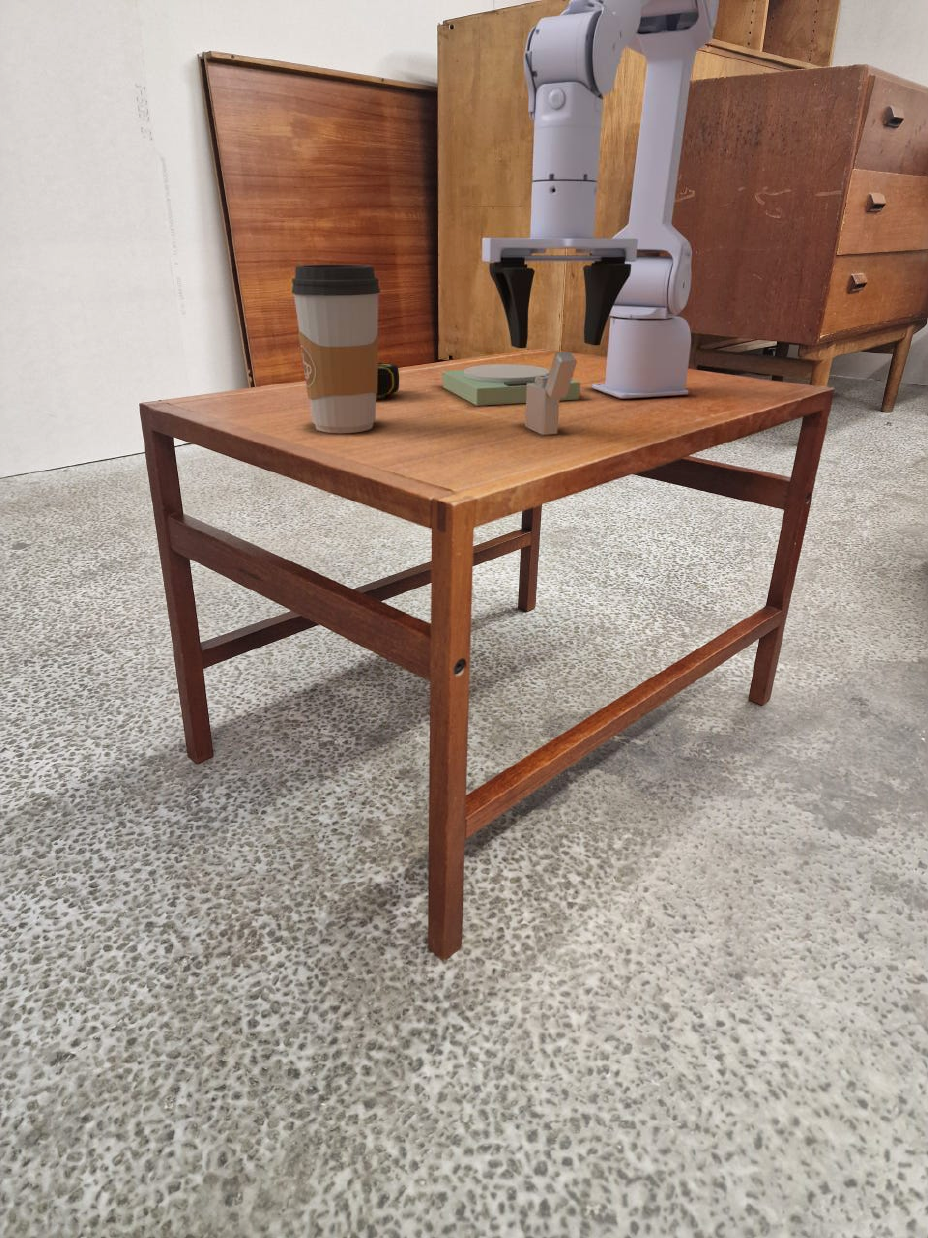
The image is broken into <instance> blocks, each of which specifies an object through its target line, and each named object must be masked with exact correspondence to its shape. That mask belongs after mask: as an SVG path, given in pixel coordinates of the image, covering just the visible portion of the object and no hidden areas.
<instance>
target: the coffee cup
mask: <svg viewBox="0 0 928 1238" xmlns="http://www.w3.org/2000/svg"><path fill="white" fill-rule="evenodd" d="M294 267H295V268H294V269H295V270H294V278H291V283H292V287H291V294H293V297H294V298H293V299H294V304H295V311H296V317H297V325H298V339H299V346H300V351H301V359H302V367H303V372H304V380H305V385H306V394H307V398H308V401H309V408H310V409H309V410H310V416H311V421H312V423H313V424H314V425H315V429H316V430H317V431H318V432H323V433H328V434H352V433H353V434H354V433H355V434H356V433H361V432H365V431H370V430H371V429H373V428H374V423H375V422H376V419H377V399H376V395H377V371H378V363H379V330H378V327H379V326H378V323H379V321H378V320H379V319H378V318H379V294H380V293H381V290H380V286H379V282H380V280H379V278H378V277H376V274H375V268H374V267H375V266H374V265H369V264H368V265H365V264H364V265H363V264H306V265H305V264H304V265H295V266H294Z"/></svg>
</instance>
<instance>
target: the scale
mask: <svg viewBox="0 0 928 1238" xmlns="http://www.w3.org/2000/svg"><path fill="white" fill-rule="evenodd" d="M549 373H550V369H547V368H545V367H541V366H537V365H528V364H514V363H494V364H491V363H490V364H480V365H473V366H469V367H466V368H464V369H456V370H454V369H453V370H443V371H442V388H444V389H445V390H448V391H449V392H451V393H453V394H455V395H456V396H458V397H460V398H461V399H464V400H466V401H467V402H469V403H471V404H472V405H474V406H475V407H476V406H477V407H482V406H498V405H499V406H500V405H513V404H514V405H515V404H526V390H527V383H535V375H546V376H549ZM580 387H581V382H579V381H577V380H574V379H572V380H571V383H570V386H569V390H568V393H567V396H566V397H565V398H559V402H560V401H561V402H563V401H578V400H580V391H581V389H580Z"/></svg>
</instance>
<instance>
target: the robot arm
mask: <svg viewBox="0 0 928 1238" xmlns="http://www.w3.org/2000/svg"><path fill="white" fill-rule="evenodd" d="M719 3H720V0H569V2H568V6H567V7H566V8H565V9H564V10H563V11H562V12H561V13H560V14H559V15H554V16H546V17H542V18H540V20H539V21H538V23H537V25H535V26H533V27H532V28H531V29H530V31H529V33H528V35H527V38H526V44H525V52H523V72H524V77H525V78H524V79H525V84H526V87H527V94H528V109H527V111H528V113H529V120H530V121H532V122H533V148H532V150H533V151H532V173H531V174H532V175H531V200H530V201H531V202H530V223H529V225H530V227H529V228H530V229H529V237H482V242H481V243H482V244H481V245H482V246H481V247H482V248H481V258H482V259H481V261H482V262H483V263H485V262H486V263H489V264H488V267H489V268H488V270H489V274H490V277H491V279H492V281H493V283H494V285H495V288H496V290H497V293H498V295H499V298H500V300H501V304H502V307H503V309H504V313H505V317H506V322H507V328H508V331H509V338H510V339H509V340H510V347H514V348H517V349H527V345H528V337H529V308H530V300H531V299H530V298H531V293H532V292H531V291H532V287H533V281H534V276H535V273H536V271H535V270H534V268H533V267H528V264H527V263H528V262H532V263H533V262H537V263H538V262H539V263H540V262H591V264H586V265H584V266H583V267H582V271H583V279H584V292H585V313H584V323H583V324H584V325H583V342H584V344H587V345H591V346H601V343H602V339H603V335H604V332H605V329H606V325H607V323H608V321H609V332H608V344H607V345H608V346H607V357H606V369H605V382H604V383H593V384H591V389H594V390H596V391H599V392H602V393H604V394H607V395H610V396H613V397H615V398H618V399H622V400H623V399H641V398H653V397H654V398H655V397H671V396H672V397H673V396H686V395H689V393H690V390H688V389H686V388H687V379H688V372H689V363H690V355H691V348H692V334H691V327H690V325H689V323H688V321H687V320H686V319H685V318H684V317H681V316H677V315H679V314H680V313H682V311H683V310H684V308H685V307H686V306H687V303H688V300H689V296H690V293H691V287H692V257H693V250H692V246H691V243H690V242H689V240H688V239H687V238H686V237H685V236H684V235H683V234H681V233H680V232H679V231H678V230H677V228H675V227H674V226H673V224H672V222H673V221H672V220H673V214H674V205H675V199H676V191H677V185H678V175H679V169H680V161H681V154H682V146H683V139H684V130H685V123H686V117H687V109H688V101H689V92H690V86H691V78H692V74H693V69H694V64H695V60H696V55H697V52H698V51H699V50H700V49H701V48H703V47H704V46H705V45H707V44H708V43H709V42H710V41H712V40H713V35H714V28H715V27H716V23H717V17H718V11H719ZM627 47H628V48H629V49H631V50H632V51H634V52H636V53H638V54H640V55H642V56H644V58H645V61H646V71H645V79H644V89H643V97H642V98H643V99H642V107H641V114H640V124H639V133H638V139H637V140H638V141H637V148H636V157H635V158H636V159H635V166H634V174H633V184H632V193H631V199H630V209H629V218H628V223H627V224H626V225H625V227H623V228H622V229H621V230H620V231H618V233H616V234H614V236H612V237H611V238H604V237H603V238H601V237H600V238H595V224H596V211H597V210H596V209H597V197H598V183H599V181H598V180H599V169H600V168H599V167H600V155H601V153H600V152H601V140H602V139H601V138H602V124H603V110H604V96H606V95H608V94H609V93H611V92H612V90H613V88H614V85H615V82H616V77H617V74H618V73H617V72H618V68H619V65H620V63H621V60H622V53H623V52H624V50H625V49H626V48H627ZM551 249H552V250H561V249H562V250H563V249H564V250H575V253H576V255H571V254H569V255H568V254H565V255H564V254H563V255H561V254H559V255H558V254H556V255H555V254H553V255H549V254H547V255H546V253H547V250H551ZM533 254H534V255H533ZM539 254H540V255H539ZM542 254H544V255H542ZM577 254H579V255H577ZM580 254H581V255H580ZM638 254H669V255H670V256H657V255H656V256H654V255H653V256H651V255H638ZM525 262H527V263H525ZM609 317H610V318H609Z"/></svg>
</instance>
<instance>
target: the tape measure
mask: <svg viewBox="0 0 928 1238" xmlns="http://www.w3.org/2000/svg"><path fill="white" fill-rule="evenodd" d="M399 371H400V370H399V367H398V366H397V365H396V364H395V363H388V362H378V371H377V395H376V400H377V399H385V398H386V395H392V394H395V393H398V391H399V389H400V372H399Z"/></svg>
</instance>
